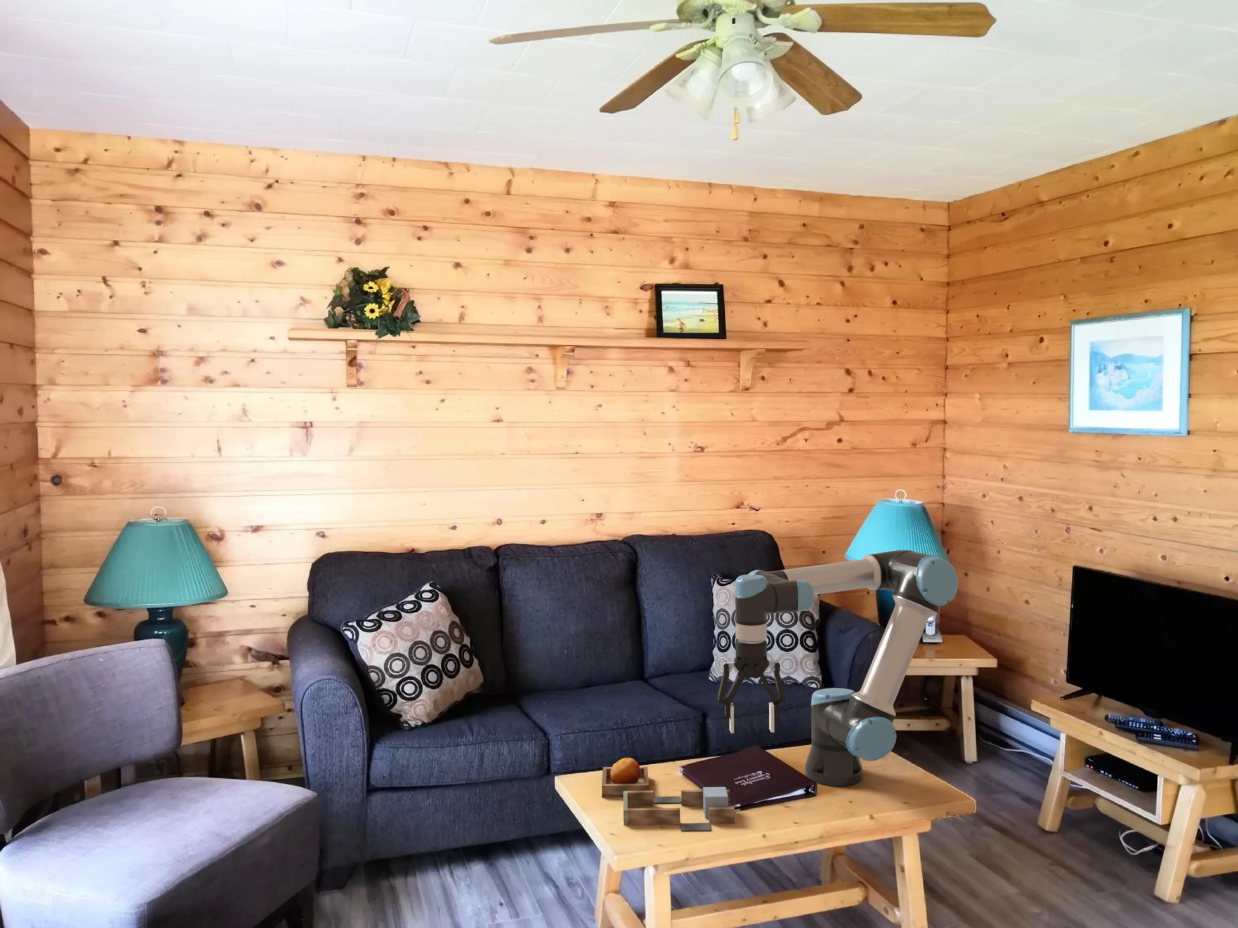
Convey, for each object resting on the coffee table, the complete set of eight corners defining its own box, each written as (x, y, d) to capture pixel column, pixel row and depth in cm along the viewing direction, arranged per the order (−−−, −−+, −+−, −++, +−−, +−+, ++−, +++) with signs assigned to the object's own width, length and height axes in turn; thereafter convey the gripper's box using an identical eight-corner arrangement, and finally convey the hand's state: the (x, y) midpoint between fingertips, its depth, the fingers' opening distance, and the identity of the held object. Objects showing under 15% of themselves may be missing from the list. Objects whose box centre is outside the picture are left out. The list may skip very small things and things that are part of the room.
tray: (647, 777, 244) (647, 766, 244) (648, 796, 232) (648, 784, 232) (603, 777, 244) (602, 766, 244) (602, 796, 232) (601, 785, 232)
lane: (727, 796, 231) (727, 783, 231) (736, 830, 213) (736, 815, 213) (623, 797, 232) (623, 784, 231) (623, 831, 213) (623, 817, 213)
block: (725, 808, 225) (725, 786, 225) (728, 818, 219) (727, 796, 219) (703, 808, 225) (703, 787, 225) (705, 818, 219) (705, 796, 219)
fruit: (645, 786, 233) (628, 759, 233) (619, 800, 235) (603, 773, 235) (649, 774, 241) (634, 748, 241) (625, 787, 242) (609, 761, 243)
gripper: (793, 634, 223) (793, 724, 225) (704, 636, 223) (705, 725, 225) (799, 642, 216) (799, 735, 217) (707, 644, 216) (708, 736, 217)
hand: (751, 730), depth 221 cm, fingers open, 9 cm apart
